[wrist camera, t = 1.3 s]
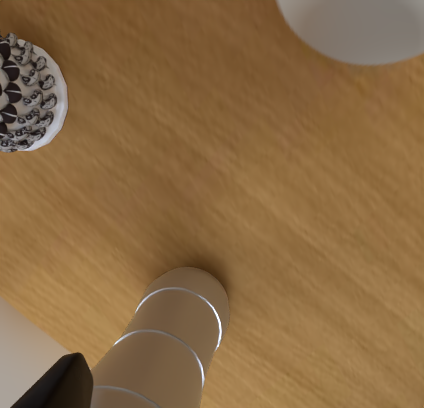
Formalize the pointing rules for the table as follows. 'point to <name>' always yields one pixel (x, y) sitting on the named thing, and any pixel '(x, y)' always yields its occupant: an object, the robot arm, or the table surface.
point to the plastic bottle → (165, 344)
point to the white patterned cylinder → (29, 96)
